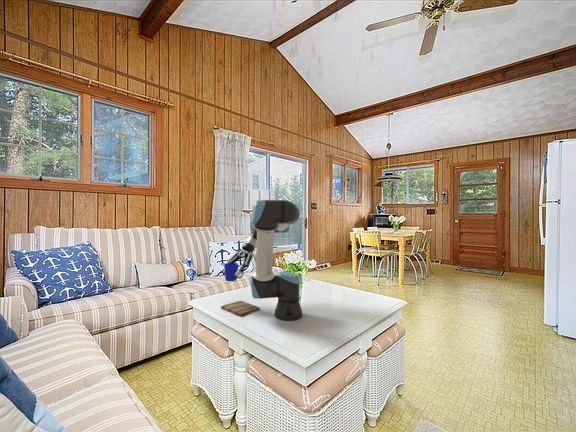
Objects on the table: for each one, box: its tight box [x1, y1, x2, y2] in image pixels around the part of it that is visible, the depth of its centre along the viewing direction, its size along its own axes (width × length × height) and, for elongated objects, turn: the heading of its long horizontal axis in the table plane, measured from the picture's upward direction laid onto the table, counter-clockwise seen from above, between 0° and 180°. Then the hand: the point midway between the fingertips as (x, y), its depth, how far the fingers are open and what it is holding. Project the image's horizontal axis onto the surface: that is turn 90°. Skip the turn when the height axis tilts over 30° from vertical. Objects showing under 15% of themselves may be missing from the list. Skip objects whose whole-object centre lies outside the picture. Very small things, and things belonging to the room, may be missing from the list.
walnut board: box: [220, 300, 260, 317], centre depth 162 cm, size 18×14×2 cm
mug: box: [223, 262, 245, 282], centre depth 167 cm, size 8×12×10 cm
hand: (230, 274), depth 165 cm, fingers closed on mug, 11 cm apart
